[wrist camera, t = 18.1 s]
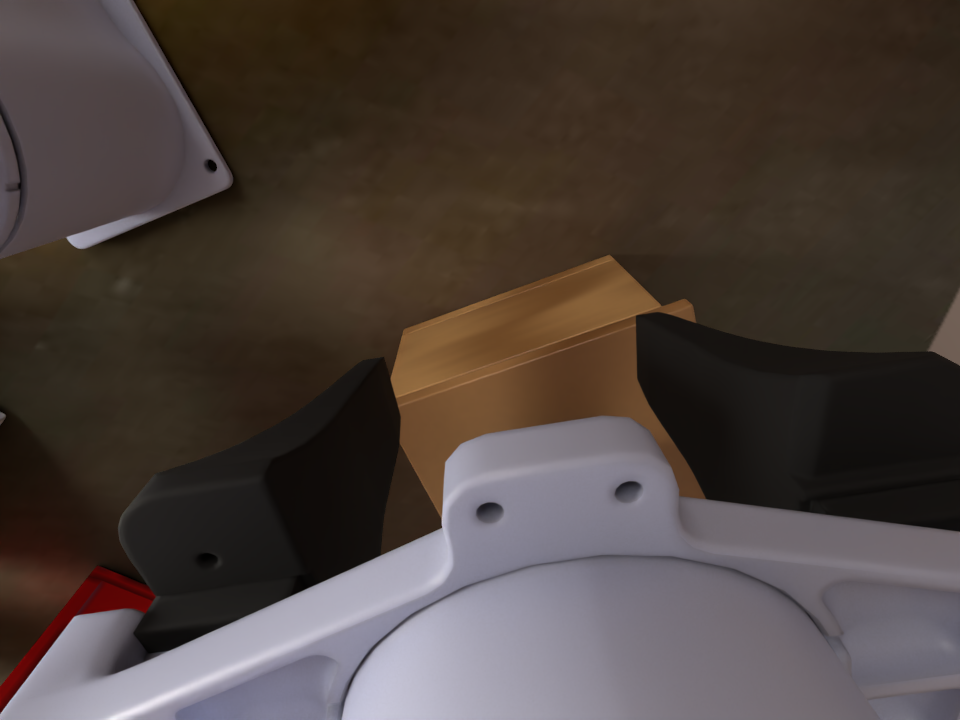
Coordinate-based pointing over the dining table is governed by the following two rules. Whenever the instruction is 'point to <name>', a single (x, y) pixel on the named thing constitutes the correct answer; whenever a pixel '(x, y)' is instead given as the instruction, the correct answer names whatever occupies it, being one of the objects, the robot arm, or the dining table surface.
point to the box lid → (537, 399)
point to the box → (517, 323)
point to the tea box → (2, 417)
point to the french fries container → (92, 597)
